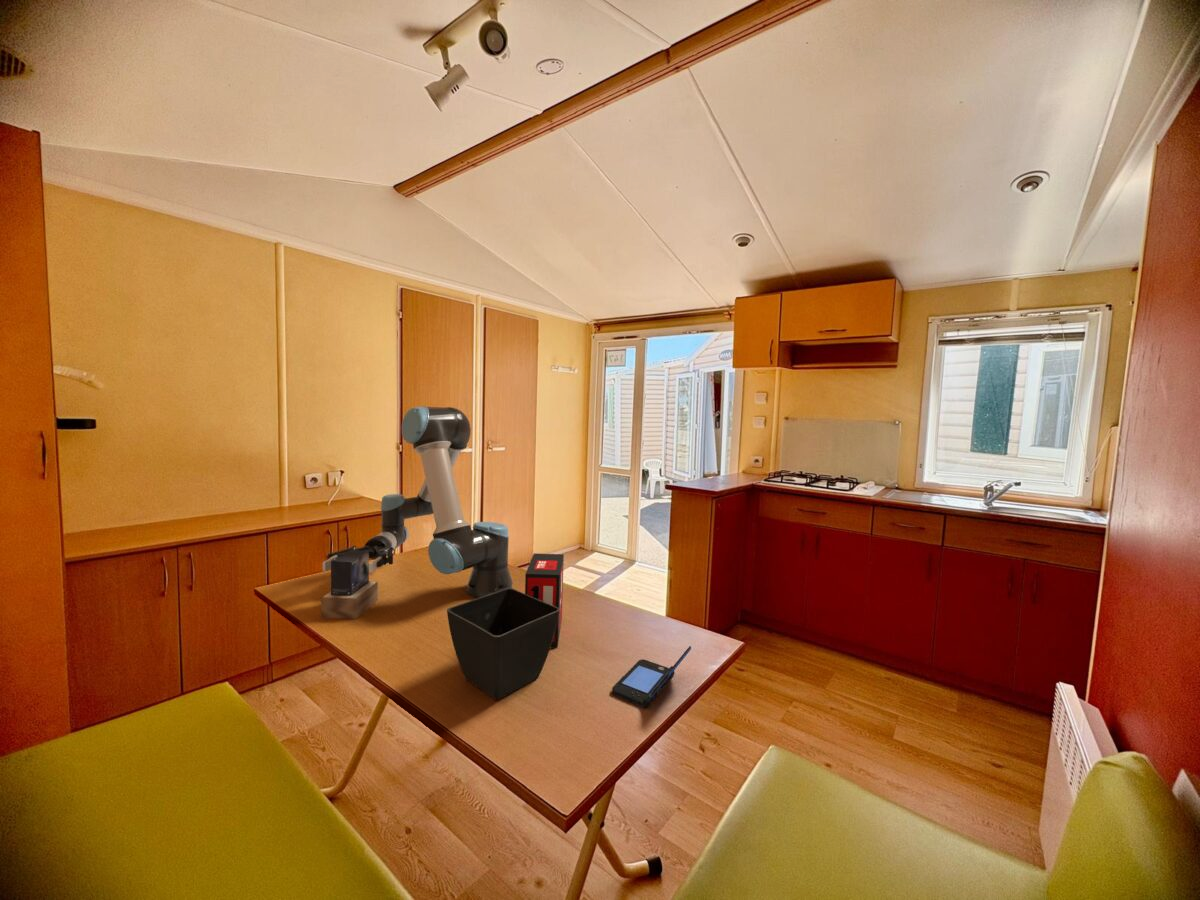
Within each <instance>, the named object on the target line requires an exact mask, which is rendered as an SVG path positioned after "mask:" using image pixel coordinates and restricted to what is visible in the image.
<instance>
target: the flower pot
mask: <svg viewBox="0 0 1200 900" xmlns="http://www.w3.org/2000/svg"><path fill="white" fill-rule="evenodd" d="M559 611H560V609H559V608H557V607H555V606H553V605H550V604H548V603H546V602H543V601H541V600H538V599H536V598H534V597H531V596H529V595H527V594H525V592H522V591H519V590H517V589H514V588H513V587H512V588H507V589H504V590H501V591H498V592H495V593H492V594H489V595H486V596H483V597H480V598H478V597H476V598H474V599H471V600H469V601H465V602H462V603H460V604H457V605H454V606H451V607H449V608H447V609H446V615H447V621H448V626H449V631H450V637H451V640H452V645H453V648H454V652H455V655H456V658H457V662H458V664H459V666H460V670H461V671H462V675H463V676H464V679H465V680H467V681H468V682H469V683H471V684H473V685H474V686H475V687H477V688H478V689H479V690H481V691H483V692H484V693H485V694H487V695H488V696H490V697H491V698H492V699H494V700H500V699H502V698H505V697H507V696H508V695H510V694H512V693H513V692H516V691H517V690H519V689H520V688H523V687H524V686H526V685H528V684H529V683H531V682H533V681H535V680H536V679H538V678H539V677H540V675H541V673H542V671H543V669H544V666H545V663H546V662H547V661H546V660H547V659H548V656H549V653H550V650H551V648H550V647H551V644H552V641H553V638H554V634H555V630H556V626H557V622H558V617H559Z"/></svg>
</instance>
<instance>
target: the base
mask: <svg viewBox="0 0 1200 900" xmlns="http://www.w3.org/2000/svg"><path fill="white" fill-rule="evenodd" d="M378 585H379V583H378V581H372V580H369V583H367V584H366V585H365V586H363V587H362V588H361V589H359V590H358V591H356V592H355V593H354V594H352V595H351V596H347V595H331V591H330V592H328V593H326V594H325V595H323V596H321V598H320V602H321V603H320V605H321V619H342V620H357V619H358V618H359V617H361V615H363V614H364V613H365V612H366V611H367V610H369V609H370V608H371V607H372V606H373V605H375V604H376V602H378V600H379V595H378V594H379V591H378V590H379V589H378V588H379V586H378Z"/></svg>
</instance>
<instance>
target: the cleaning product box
mask: <svg viewBox="0 0 1200 900" xmlns="http://www.w3.org/2000/svg"><path fill="white" fill-rule="evenodd" d="M564 557H565V556H564V553H563V554H562V553H561V554H559V553H535V552H534V553H533V554H532V557H531V559H530V561H529V565H528V567H527V568H526V571H525V575H524V576H525V582H524V583H525V584H524V594H527V595H529V596H531V597H534V598H536V599H538V600H541V601H543V602H546V603H548V604H550V605H553V606H555V607H557V608H559V609H560V611H559V617H558V622H557V626H556V630H555V634H554V638H553V641H552V644H551V647H550V649H551V648H552V649H559V648H558V647H559V641H560V640H559V639H560V634H561V628H562V620H563V619H562V618H563V598H564V597H563V594H564V593H563V591H564V589H563V588H564V587H563V586H564V561H565V560H564Z"/></svg>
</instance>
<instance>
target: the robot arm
mask: <svg viewBox="0 0 1200 900" xmlns="http://www.w3.org/2000/svg"><path fill="white" fill-rule="evenodd" d="M469 420H470V419H468V416H466V414H465V413H464V412H463V411H461V410H460V409H458V408H457V407H456V408H455V407H449V406H448V407H441V406H440V407H439V406H438V407H437V406H415V407H414V406H413V407H411V408H410V409H408V410H407V411H406V413H405V414H404V417H403V419H402V421H401V422H402V423H401V435H402V438H403V440H404V441H405V442H406V443H408V444H410V445H412V447H413V451H414V452H415V453H416V454H418V455H419V456H420V460H421V464H422V468H423V473H424V480H423V482H422V485H421V487H420V489H419V491H418V493H417V495H416V496H414V497H413V496H412V497H408V498H407V497H406V498H405V496H404V495H403V494H400V493H393V494H392V493H391V494H386V495H384V496H382V498H381V503H380V504H381V505H380V510H381V511H380V513H381V532H380V533H378V534H377V535H375V536H373V537H372V538H369V540H368V541H366V542H365V544H364V545H363V546H362V547H357V546H356V545H353V546H351V547H348V548H344V549H341V550H337V551H334V552H330V553H327V559H326V560H324V561H322V572H327V571H328V570H331V560H333V559H334V558H336V557H338V556H340V555H342V554H343V553H345V552H347V551H349V550H360V551H369V559H371V560H372V561H371V562H369V574H372V573H374V572H375V571H376V570H377V569H378V568H380V567H383V566H386V565H387V564H388V565H393V564H394V555H395V551H394V550H396V549H397V548H399V547H401V546H402V545H403V544H404V543H405V542H406V541H407V540H408V537H409V530H408V528H407V527H406V525H405V520H407V519H412V518H418V517H422V516H431V515H433V517H434V522H435V529H434V531H433V532H432V538H433V539H432V540H431V541H430V542H429V544H428V549H427V551H428V556H429V560H430V562H431V564H432V566H433V568H435V570H437V571H438V572H439V573H441V574H443V575H452V574H456V573H457V574H458V573H461V572H462V571H464V570H468V569H471V568H472V569H471V573H470V576H469V578H468V581H467V588H466V589H467V593H468V594H469V595H470V596H471V597H474V598H480V597H483V596H486V595H489V594H492V593H495V592H498V591H501V590H504V589H507V588H512V589H513V587H514V586H513V580H512V576H511V573H510V570H509V567H508V565H509V563H508V561H509V560H508V559H509V538H510V536H509V528H508V527H507V525H505V524H503V523H499V522H493V521H478V522H475V523H473V524H472V525H473V526H472V527H471V524H470V523H469V522H467V520H465V518H464V514H463V509H462V506H461V501H460V497H459V493H458V489H457V484H456V480H455V474H454V470H453V469H454V466H455V464H456V462H457V460H458V458H459V456H460V454H461V451H464V450H465V449H466V448H467V445H468V444H469V442H470V439H471V434H472V433H471V431H472V430H471V424H470V421H469Z"/></svg>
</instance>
